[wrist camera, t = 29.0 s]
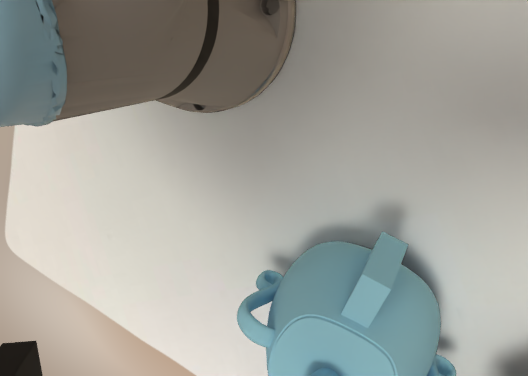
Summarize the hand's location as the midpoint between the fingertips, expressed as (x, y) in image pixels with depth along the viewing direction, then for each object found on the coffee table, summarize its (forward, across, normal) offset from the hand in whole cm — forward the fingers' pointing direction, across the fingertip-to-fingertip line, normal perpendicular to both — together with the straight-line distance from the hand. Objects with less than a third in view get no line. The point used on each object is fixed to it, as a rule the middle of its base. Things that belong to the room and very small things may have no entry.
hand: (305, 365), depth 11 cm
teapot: (+24, +9, -13) cm, 29 cm away
